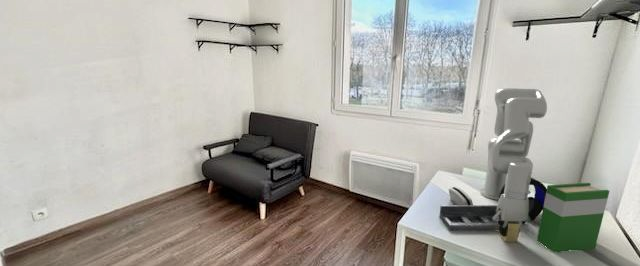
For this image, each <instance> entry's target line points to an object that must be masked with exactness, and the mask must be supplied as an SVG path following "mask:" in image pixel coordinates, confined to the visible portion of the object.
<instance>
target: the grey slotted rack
mask: <svg viewBox="0 0 640 266" xmlns="http://www.w3.org/2000/svg"><path fill="white" fill-rule="evenodd" d="M497 205H498V204H495V205H489V204H487V205H486V204H485V205H483V204H482V205H481V204H479V205H476V204H475V205H474V204H473V205H457V204H453V205H452V204H449V205H448V204H444V205H443V204H440V206H439V216H438V218H440V220H441V221H442V222H443V224H444V226H445V227H446V228H447V229H448V230H449V231H459V232H461V231H469V232H470V231H472V232H473V231H478V232H479V231H480V232H482V231H485V232H488V231H489V232H492V231H494V232H496V231H495V230H499V228H500V224H499V223H498V222H496V221H495V220H494V219H493V217H494V215H495V214H496V209H497ZM500 218H501V217H500ZM500 218H499V220H500ZM475 220H478V221H477V222H471V221H475ZM493 220H494V222H492V221H493ZM452 221H458V222H452Z"/></svg>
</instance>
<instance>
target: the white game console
mask: <svg viewBox="0 0 640 266" xmlns="http://www.w3.org/2000/svg"><path fill="white" fill-rule="evenodd" d="M448 193H449V197H450V200H451V201H452V202H453V203H455V205H474V203H473V200H472V198H471V197H470V196H469V195H468V193H466V192H465V191H464V190H463V189H462V188H460V187H458V186H452V187H450V188H448Z"/></svg>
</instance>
